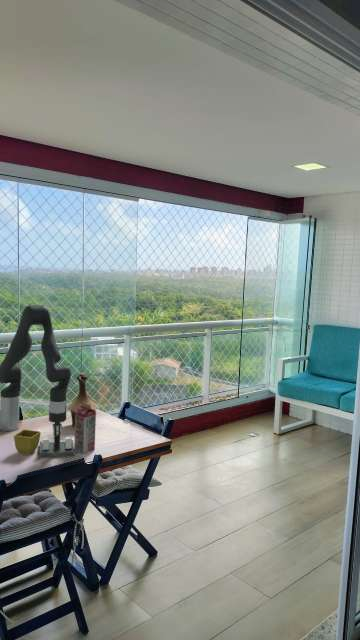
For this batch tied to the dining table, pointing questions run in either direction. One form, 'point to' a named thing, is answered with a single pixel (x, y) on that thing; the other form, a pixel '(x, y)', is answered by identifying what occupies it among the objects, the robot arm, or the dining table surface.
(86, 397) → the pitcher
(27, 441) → the flower pot
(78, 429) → the juice carton
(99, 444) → the dining table surface
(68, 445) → the tab right
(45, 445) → the tab left
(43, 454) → the panel
